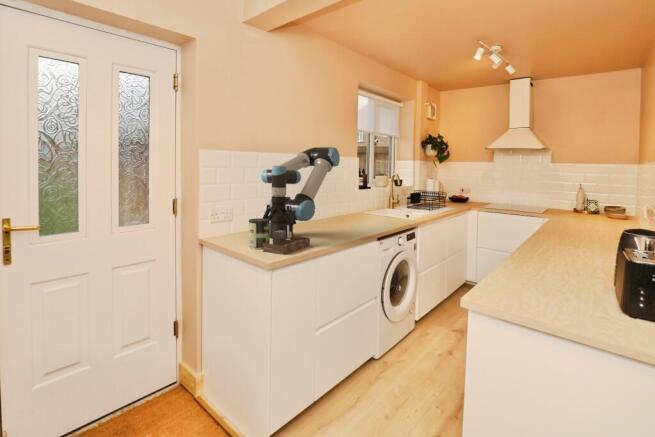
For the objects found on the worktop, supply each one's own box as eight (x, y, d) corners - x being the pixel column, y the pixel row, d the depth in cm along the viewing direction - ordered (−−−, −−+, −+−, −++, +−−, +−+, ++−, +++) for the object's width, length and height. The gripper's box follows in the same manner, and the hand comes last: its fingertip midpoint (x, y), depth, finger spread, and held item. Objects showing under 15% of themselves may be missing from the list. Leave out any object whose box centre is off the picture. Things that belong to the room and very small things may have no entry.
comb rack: (290, 243, 195) (290, 235, 195) (309, 245, 190) (309, 238, 189) (263, 251, 175) (263, 243, 174) (283, 254, 169) (283, 246, 169)
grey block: (279, 243, 195) (279, 230, 194) (285, 243, 194) (285, 230, 193) (272, 245, 190) (272, 231, 189) (279, 245, 188) (278, 232, 187)
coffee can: (272, 245, 189) (272, 218, 187) (265, 249, 179) (265, 221, 177) (254, 244, 191) (253, 217, 189) (245, 248, 181) (245, 220, 179)
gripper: (255, 195, 191) (255, 234, 193) (295, 197, 179) (294, 239, 182) (264, 194, 197) (264, 233, 200) (303, 196, 186) (302, 237, 188)
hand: (278, 236), depth 191 cm, fingers open, 13 cm apart
